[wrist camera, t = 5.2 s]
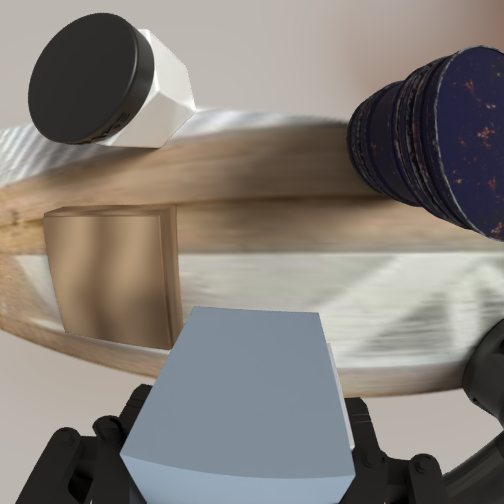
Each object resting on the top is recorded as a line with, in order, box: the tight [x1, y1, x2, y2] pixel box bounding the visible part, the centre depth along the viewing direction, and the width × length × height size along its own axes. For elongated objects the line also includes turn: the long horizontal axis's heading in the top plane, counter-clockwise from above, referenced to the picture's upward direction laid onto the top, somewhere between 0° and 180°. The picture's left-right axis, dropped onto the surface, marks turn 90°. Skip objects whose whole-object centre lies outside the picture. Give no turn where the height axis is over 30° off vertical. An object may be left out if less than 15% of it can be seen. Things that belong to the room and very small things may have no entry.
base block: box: [43, 205, 183, 350], centre depth 27 cm, size 13×13×4 cm
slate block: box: [120, 306, 356, 504], centre depth 11 cm, size 6×6×9 cm
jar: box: [28, 13, 196, 148], centre depth 18 cm, size 9×8×12 cm
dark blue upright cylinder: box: [347, 45, 504, 242], centre depth 16 cm, size 10×10×15 cm
